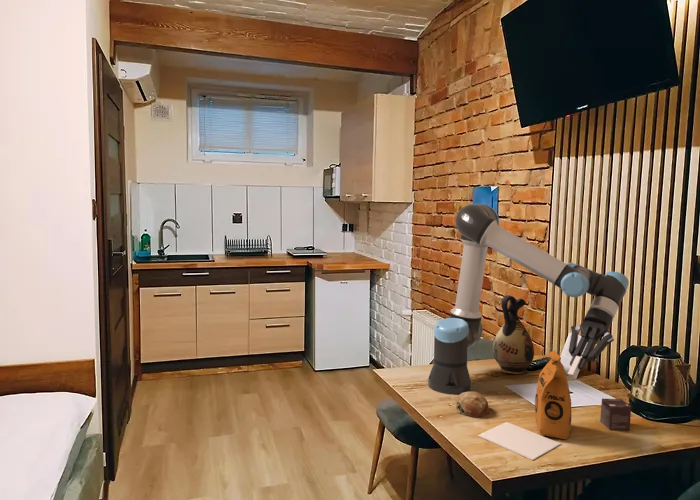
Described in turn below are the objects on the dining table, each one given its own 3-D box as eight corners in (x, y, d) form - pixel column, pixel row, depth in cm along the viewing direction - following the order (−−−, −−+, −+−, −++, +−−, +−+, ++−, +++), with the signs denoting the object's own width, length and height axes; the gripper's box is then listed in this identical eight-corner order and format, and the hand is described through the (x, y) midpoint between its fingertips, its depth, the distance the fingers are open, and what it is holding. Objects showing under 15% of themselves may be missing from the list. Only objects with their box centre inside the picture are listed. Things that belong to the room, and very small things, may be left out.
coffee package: (532, 435, 144) (538, 359, 142) (533, 418, 156) (538, 348, 154) (571, 442, 141) (577, 364, 139) (569, 424, 152) (574, 352, 150)
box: (619, 421, 155) (621, 398, 154) (630, 430, 149) (632, 406, 148) (599, 421, 155) (601, 398, 154) (609, 430, 149) (610, 406, 148)
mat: (477, 436, 144) (477, 435, 144) (506, 422, 153) (506, 421, 153) (532, 460, 131) (532, 459, 131) (560, 444, 140) (560, 443, 140)
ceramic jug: (507, 361, 211) (511, 290, 208) (541, 372, 198) (545, 296, 195) (480, 369, 201) (483, 294, 198) (513, 381, 188) (517, 301, 185)
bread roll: (452, 418, 164) (446, 399, 161) (472, 398, 169) (466, 379, 166) (477, 430, 156) (471, 409, 153) (497, 408, 161) (491, 389, 158)
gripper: (625, 325, 159) (597, 389, 150) (583, 317, 169) (555, 377, 160) (619, 310, 155) (589, 375, 146) (577, 303, 165) (547, 364, 156)
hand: (571, 376), depth 153 cm, fingers closed
